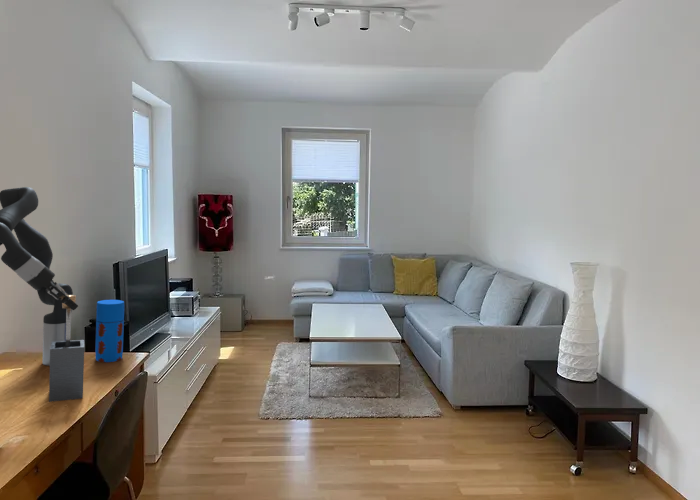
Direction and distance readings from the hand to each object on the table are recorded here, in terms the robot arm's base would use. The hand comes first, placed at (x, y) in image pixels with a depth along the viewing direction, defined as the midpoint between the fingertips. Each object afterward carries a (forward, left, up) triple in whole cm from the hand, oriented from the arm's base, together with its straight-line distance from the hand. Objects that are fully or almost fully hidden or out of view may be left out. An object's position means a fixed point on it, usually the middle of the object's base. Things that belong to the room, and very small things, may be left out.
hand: (74, 306), depth 169 cm
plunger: (0, -2, -22) cm, 22 cm away
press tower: (0, -2, -31) cm, 31 cm away
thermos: (-40, +13, -31) cm, 52 cm away
